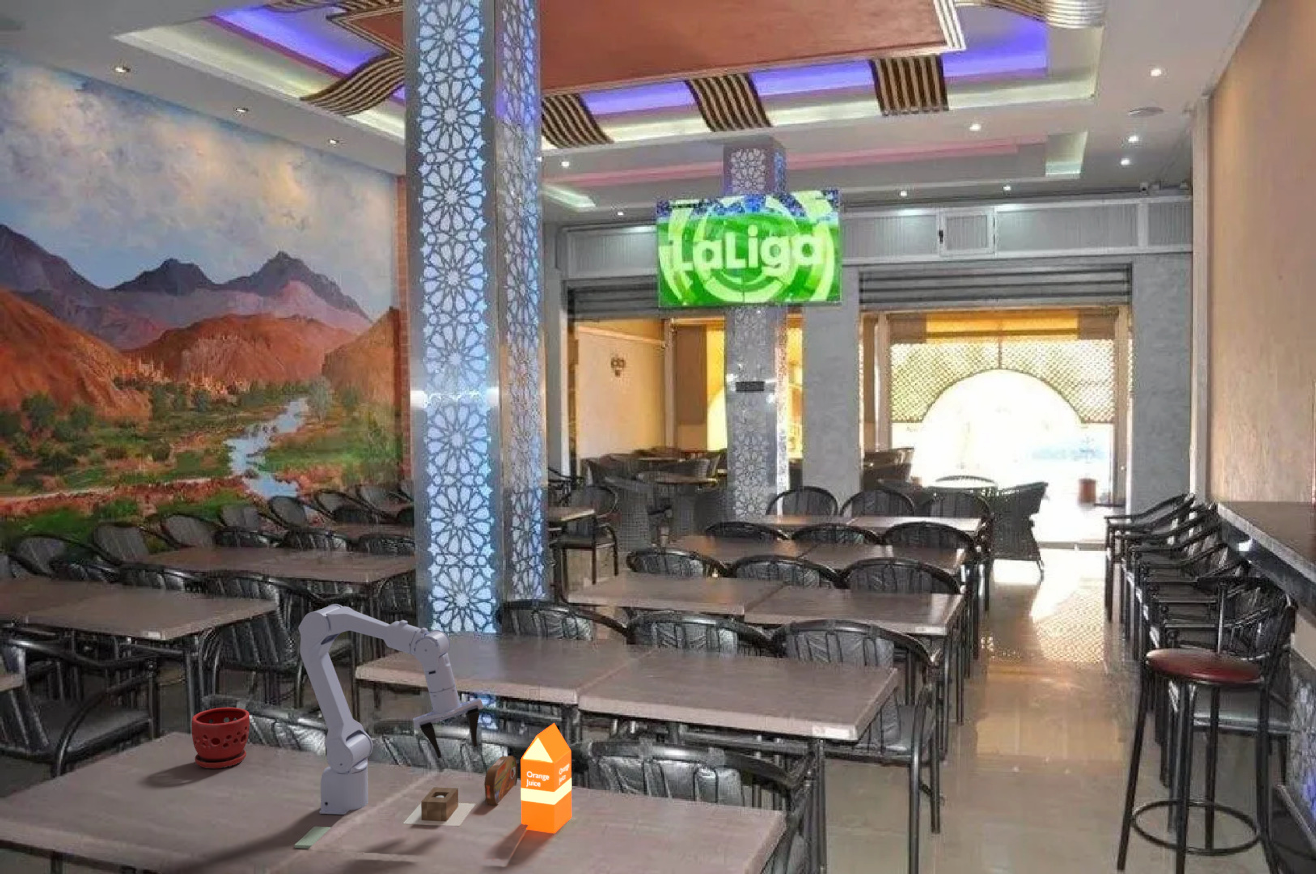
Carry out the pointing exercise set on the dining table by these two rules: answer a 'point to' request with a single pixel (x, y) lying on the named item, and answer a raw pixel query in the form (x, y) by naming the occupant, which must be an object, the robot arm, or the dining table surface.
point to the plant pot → (220, 737)
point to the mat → (311, 837)
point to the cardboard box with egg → (439, 804)
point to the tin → (500, 779)
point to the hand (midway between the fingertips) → (457, 751)
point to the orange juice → (546, 782)
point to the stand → (452, 821)
